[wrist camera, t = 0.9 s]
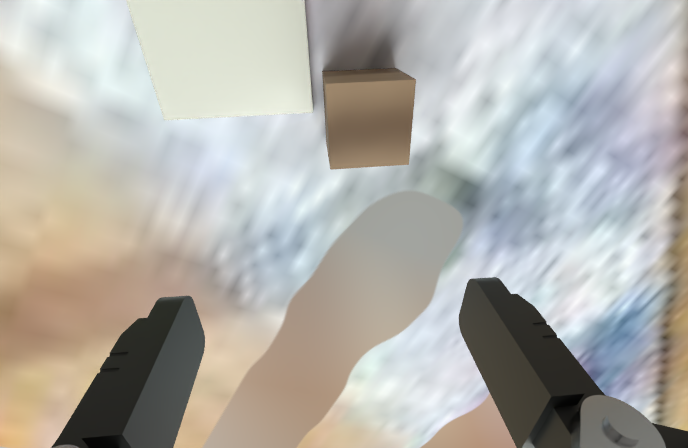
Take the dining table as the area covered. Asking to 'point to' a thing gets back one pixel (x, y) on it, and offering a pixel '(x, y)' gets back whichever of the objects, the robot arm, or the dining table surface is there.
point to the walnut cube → (368, 117)
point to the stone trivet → (225, 56)
